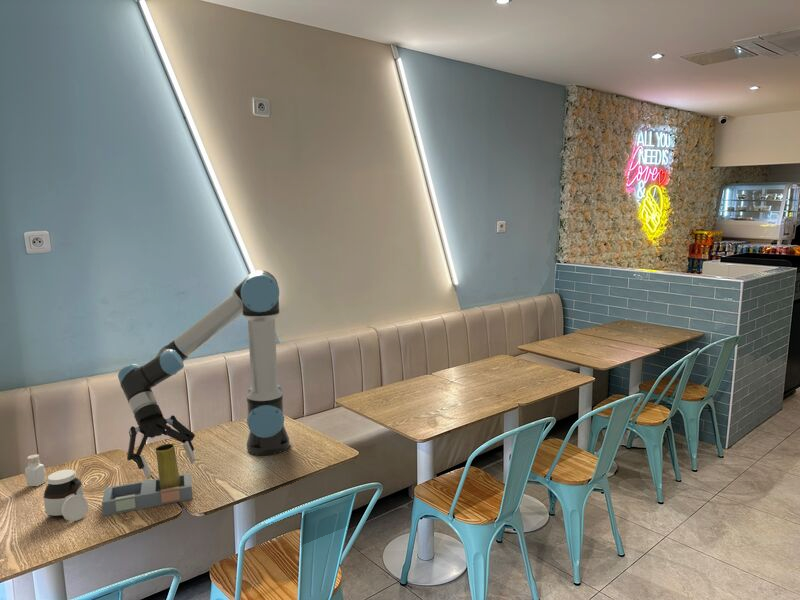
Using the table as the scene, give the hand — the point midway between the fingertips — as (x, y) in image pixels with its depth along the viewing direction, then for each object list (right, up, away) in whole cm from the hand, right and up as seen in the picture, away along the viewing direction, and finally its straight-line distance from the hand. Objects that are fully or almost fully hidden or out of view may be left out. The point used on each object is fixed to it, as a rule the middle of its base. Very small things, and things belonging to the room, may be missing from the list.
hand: (172, 469), depth 174 cm
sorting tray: (-7, -9, +1) cm, 12 cm away
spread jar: (-27, -11, -7) cm, 30 cm away
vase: (-1, -8, +3) cm, 9 cm away
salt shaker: (-48, -9, +13) cm, 51 cm away
